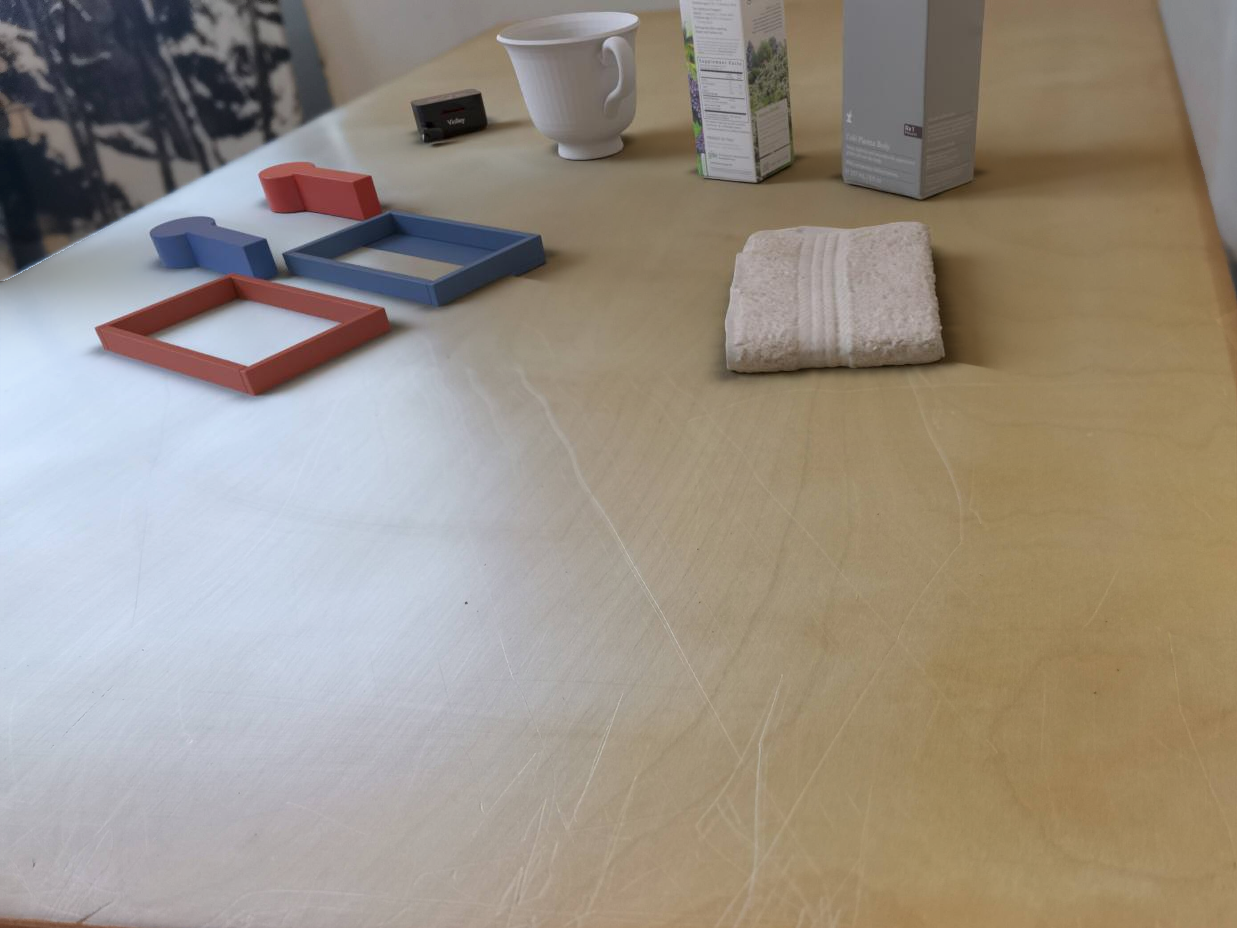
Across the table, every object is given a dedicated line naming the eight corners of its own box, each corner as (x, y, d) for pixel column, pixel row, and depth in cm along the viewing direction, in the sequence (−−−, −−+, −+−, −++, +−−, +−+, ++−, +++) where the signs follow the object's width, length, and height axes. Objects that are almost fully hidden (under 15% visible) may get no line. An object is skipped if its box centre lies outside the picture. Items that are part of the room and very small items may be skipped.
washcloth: (928, 253, 74) (927, 206, 72) (951, 374, 59) (951, 318, 57) (746, 265, 74) (741, 218, 72) (726, 387, 60) (719, 332, 58)
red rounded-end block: (259, 209, 93) (245, 172, 91) (303, 193, 96) (291, 157, 94) (351, 226, 87) (339, 187, 85) (396, 209, 90) (384, 170, 88)
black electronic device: (410, 139, 108) (400, 103, 106) (481, 123, 111) (472, 88, 109) (425, 148, 105) (415, 111, 103) (498, 132, 108) (489, 96, 106)
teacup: (583, 187, 91) (557, 51, 85) (498, 155, 101) (470, 31, 95) (704, 152, 97) (688, 23, 91) (614, 125, 106) (594, 6, 100)
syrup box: (738, 158, 95) (716, -40, 86) (797, 164, 92) (782, -39, 83) (698, 178, 91) (672, -26, 82) (759, 185, 88) (739, -26, 79)
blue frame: (290, 280, 78) (281, 253, 77) (399, 235, 85) (391, 209, 84) (440, 314, 71) (432, 284, 70) (546, 262, 78) (541, 234, 77)
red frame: (107, 356, 70) (93, 327, 69) (243, 299, 76) (232, 272, 75) (258, 403, 63) (245, 372, 61) (394, 337, 69) (384, 307, 68)
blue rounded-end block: (153, 269, 82) (136, 228, 81) (208, 250, 85) (193, 209, 83) (242, 296, 77) (225, 253, 75) (298, 274, 79) (283, 232, 77)
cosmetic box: (840, 184, 87) (827, -52, 77) (902, 161, 91) (897, -68, 81) (924, 204, 82) (921, -47, 72) (986, 178, 85) (991, -64, 76)
